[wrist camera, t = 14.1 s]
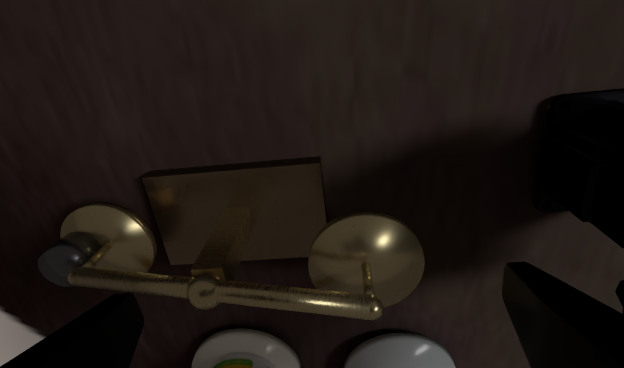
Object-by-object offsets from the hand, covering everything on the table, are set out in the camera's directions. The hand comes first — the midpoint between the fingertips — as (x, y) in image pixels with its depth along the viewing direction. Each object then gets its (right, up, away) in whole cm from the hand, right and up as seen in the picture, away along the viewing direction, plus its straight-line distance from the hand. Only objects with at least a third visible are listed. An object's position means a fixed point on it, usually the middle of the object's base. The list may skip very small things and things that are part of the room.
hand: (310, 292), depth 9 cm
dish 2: (+6, -11, +18) cm, 22 cm away
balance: (-4, +1, +13) cm, 14 cm away
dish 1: (-5, -11, +19) cm, 22 cm away
